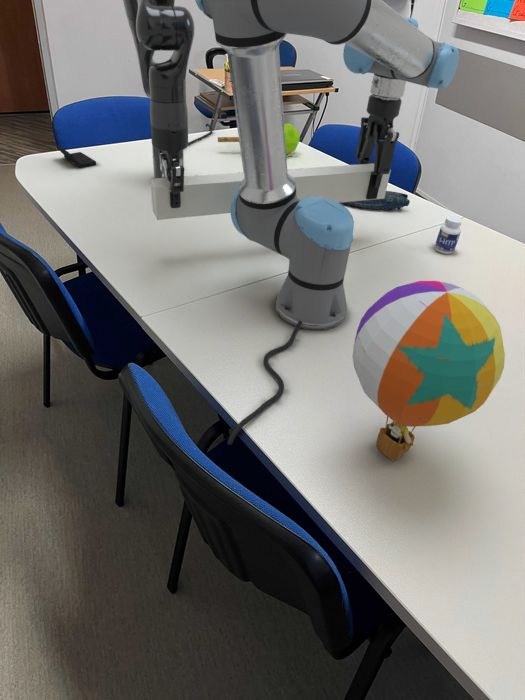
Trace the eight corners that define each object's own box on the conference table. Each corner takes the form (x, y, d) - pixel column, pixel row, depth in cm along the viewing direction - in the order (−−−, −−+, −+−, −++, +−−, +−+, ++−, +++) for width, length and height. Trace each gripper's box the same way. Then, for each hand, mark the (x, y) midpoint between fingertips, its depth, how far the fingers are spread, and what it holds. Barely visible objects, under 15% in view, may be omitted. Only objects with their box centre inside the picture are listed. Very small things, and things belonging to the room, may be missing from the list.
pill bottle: (433, 251, 139) (442, 220, 133) (435, 243, 143) (444, 213, 137) (453, 256, 138) (464, 225, 132) (454, 247, 142) (465, 217, 136)
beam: (374, 191, 137) (380, 162, 133) (384, 198, 134) (390, 169, 129) (152, 210, 118) (150, 178, 114) (157, 220, 115) (155, 187, 110)
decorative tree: (215, 117, 188) (295, 117, 193) (215, 147, 195) (292, 146, 200) (221, 131, 174) (307, 131, 180) (221, 163, 181) (304, 161, 186)
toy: (305, 441, 83) (335, 280, 64) (382, 391, 94) (427, 241, 75) (403, 527, 72) (474, 363, 53) (477, 460, 83) (558, 303, 64)
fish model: (408, 214, 157) (412, 198, 153) (339, 207, 158) (341, 191, 154) (406, 206, 162) (410, 190, 159) (339, 199, 163) (341, 183, 160)
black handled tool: (101, 157, 170) (79, 135, 162) (89, 175, 169) (67, 154, 161) (80, 153, 176) (58, 132, 168) (69, 170, 175) (46, 149, 167)
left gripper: (143, 113, 109) (149, 191, 120) (158, 134, 99) (163, 217, 110) (178, 112, 112) (181, 188, 122) (196, 132, 102) (197, 214, 112)
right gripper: (352, 86, 124) (336, 181, 139) (393, 107, 112) (370, 209, 126) (379, 86, 127) (360, 180, 141) (422, 106, 114) (396, 207, 129)
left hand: (172, 201), depth 116 cm, fingers closed on beam, 5 cm apart
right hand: (365, 193), depth 134 cm, fingers closed on beam, 5 cm apart
